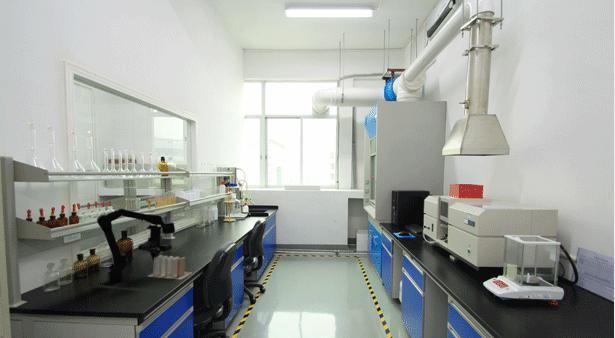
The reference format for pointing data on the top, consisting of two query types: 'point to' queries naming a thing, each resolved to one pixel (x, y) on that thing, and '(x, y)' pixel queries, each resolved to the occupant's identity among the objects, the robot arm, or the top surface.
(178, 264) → the domino
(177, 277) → the beige flat rectangular board
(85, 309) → the top surface
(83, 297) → the top surface
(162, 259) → the domino
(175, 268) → the domino
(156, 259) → the domino
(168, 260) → the domino
